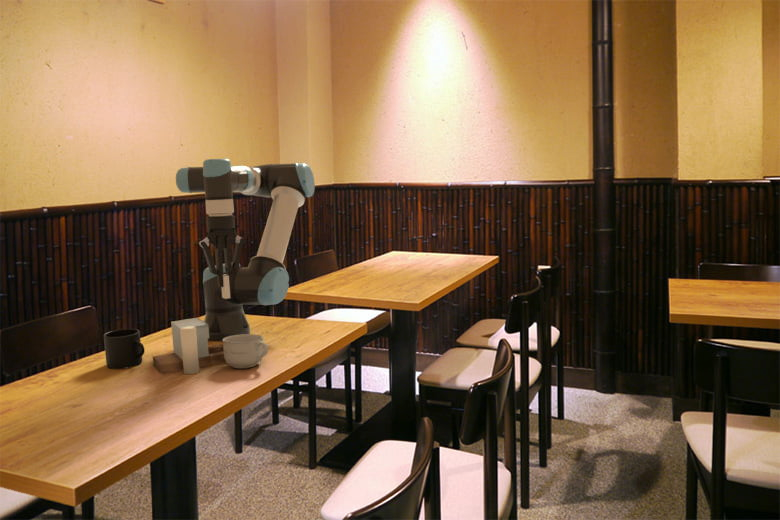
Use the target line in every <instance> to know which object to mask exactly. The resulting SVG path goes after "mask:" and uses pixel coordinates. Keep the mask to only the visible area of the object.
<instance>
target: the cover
mask: <svg viewBox="0 0 780 520" xmlns="http://www.w3.org/2000/svg"><path fill="white" fill-rule="evenodd" d="M170 323H171V325H170V326H171V334H172V335H171V336H172V347H173V348H172V349H173V353H175V354H176V355H177V356H178V357H180V358H181V359H182V360H183V357H182V345H181V334H180V328H183V327H188V326H194V327H196V336H197V348H198V358H200V357H206V356H209V352H208V347H209V343H208V341H209V340H208V338H209V329H208V324H207V323H206V322H204V320H202V319H201V318H199V317H193V318H187V319H186V318H185V319H181V320H175V321H171V322H170Z"/></svg>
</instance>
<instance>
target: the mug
mask: <svg viewBox="0 0 780 520" xmlns="http://www.w3.org/2000/svg"><path fill="white" fill-rule="evenodd" d="M103 343H104V353H105V364H106V367H107V368H109V369H113V370H118V369H119V370H123V369H129V368H132V367H136V366H138V365H141V364H142V363H143V356H144V355H145V346H144V344H143V343H142V342H141V332H140V330H139V329H136V328H124V329H115V330H111V331H108V332H105V333H104V334H103Z"/></svg>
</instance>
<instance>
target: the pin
mask: <svg viewBox="0 0 780 520" xmlns="http://www.w3.org/2000/svg"><path fill="white" fill-rule="evenodd" d="M180 334H181V345H182V357H183V369H184V370H183V374H185V375H194V374H197V373H200V367H199V360H198V348H197V336H196V327H194V326H188V327H183V328H180Z"/></svg>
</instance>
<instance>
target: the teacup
mask: <svg viewBox="0 0 780 520" xmlns="http://www.w3.org/2000/svg"><path fill="white" fill-rule="evenodd" d="M222 345H223V350H224V358H225V361H226V362H225V363H227V364H228V365H229V366H231V367H232V368H234V369H249V368H252V367H253V368H254V367H256V366H257V365H258V363H260V362H261V361H262V359H263V358H264V357H266V356H267V354H268V353H269V346H268V345H269V344H267V342H266V341H264V336H262V335H260V334H254V333H253V334H251V333H250V334H242V335H234V336H229V337H225V338H224V339H223V341H222Z"/></svg>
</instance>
